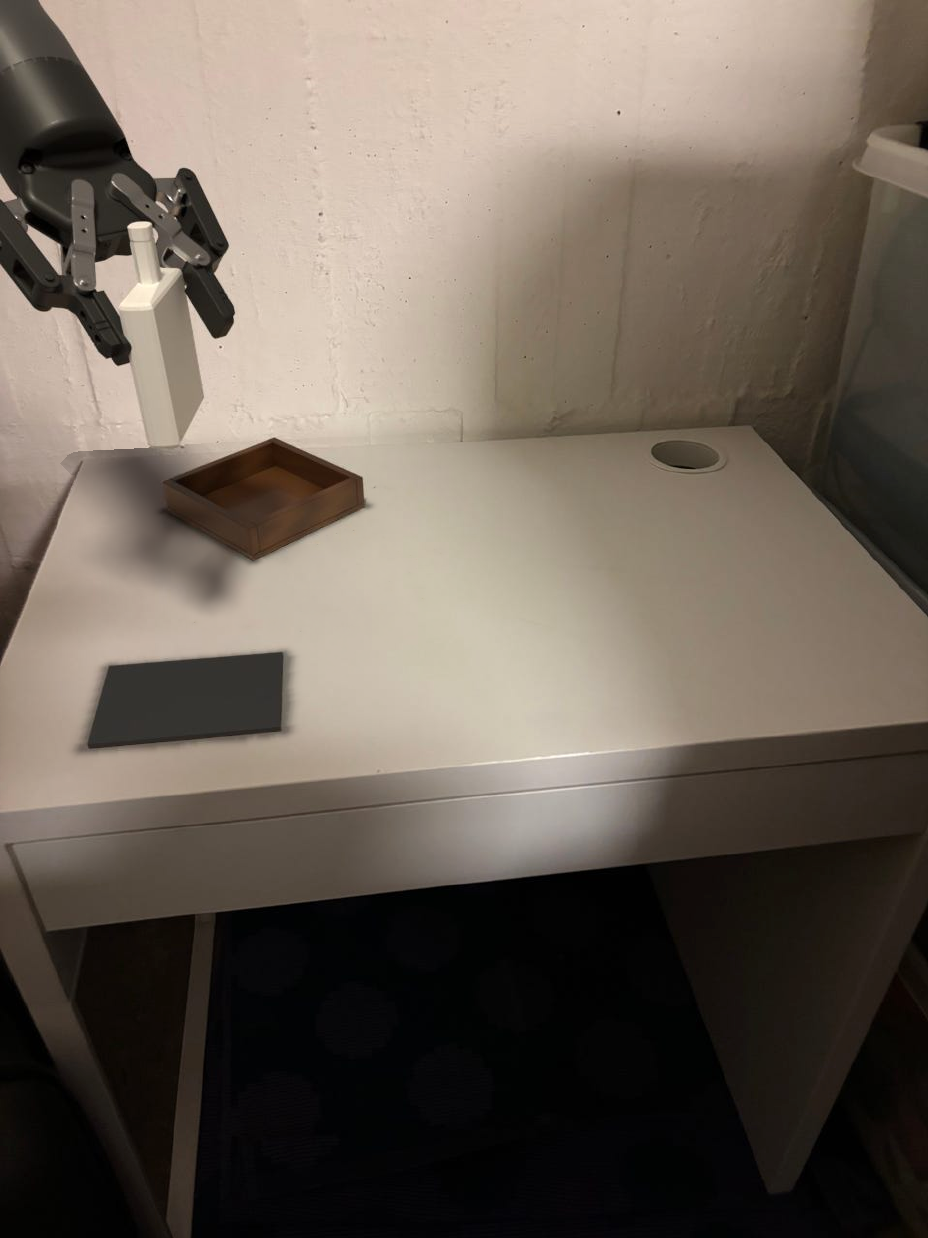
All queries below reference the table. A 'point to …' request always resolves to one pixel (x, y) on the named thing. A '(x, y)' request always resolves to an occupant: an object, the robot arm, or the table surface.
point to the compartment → (263, 496)
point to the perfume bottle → (160, 344)
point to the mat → (189, 699)
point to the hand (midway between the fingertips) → (178, 342)
